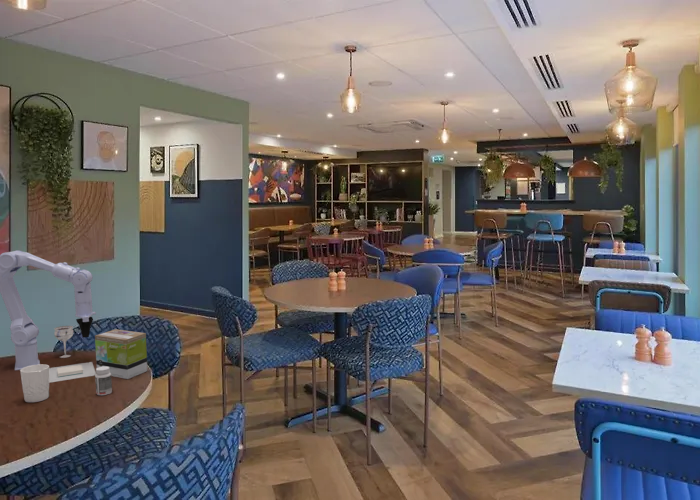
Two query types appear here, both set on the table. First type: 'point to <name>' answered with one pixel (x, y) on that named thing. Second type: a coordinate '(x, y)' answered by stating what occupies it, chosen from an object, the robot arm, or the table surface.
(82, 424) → the table surface
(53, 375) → the mat
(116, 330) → the tea box
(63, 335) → the wineglass
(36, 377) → the white cup
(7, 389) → the table surface
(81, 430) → the table surface
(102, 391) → the pill bottle
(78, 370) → the tile
